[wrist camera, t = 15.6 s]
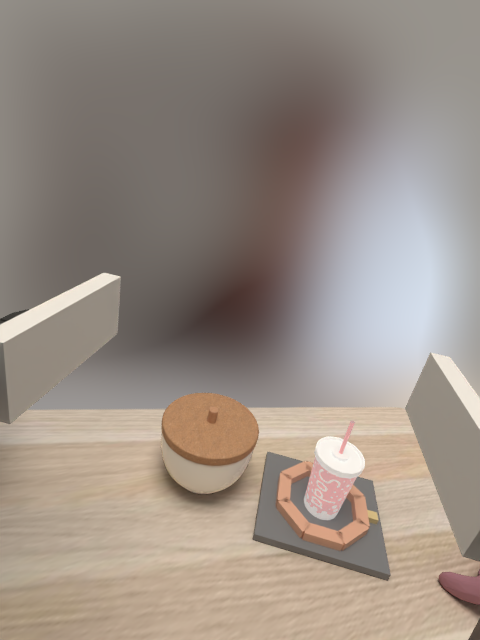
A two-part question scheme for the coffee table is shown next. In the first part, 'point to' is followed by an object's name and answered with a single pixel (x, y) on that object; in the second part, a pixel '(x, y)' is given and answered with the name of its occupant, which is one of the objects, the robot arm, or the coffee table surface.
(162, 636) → the coffee table surface
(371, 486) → the ring board
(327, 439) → the beverage cup
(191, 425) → the lidded bowl
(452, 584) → the video game controller
